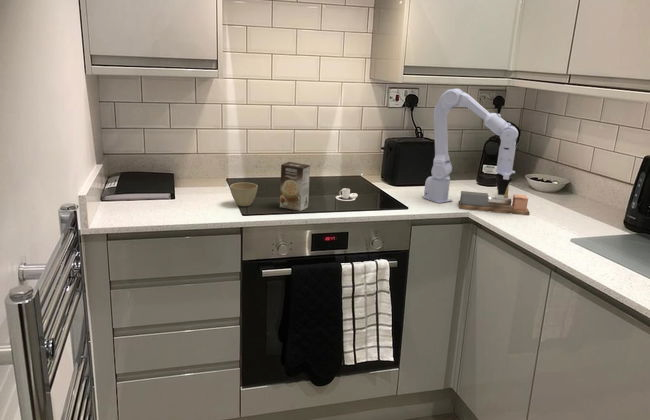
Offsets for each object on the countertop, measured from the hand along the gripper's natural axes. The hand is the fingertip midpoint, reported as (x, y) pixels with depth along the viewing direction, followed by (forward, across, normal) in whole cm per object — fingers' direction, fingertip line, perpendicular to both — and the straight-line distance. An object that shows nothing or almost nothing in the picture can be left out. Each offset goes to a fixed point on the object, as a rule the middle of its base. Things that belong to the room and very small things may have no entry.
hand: (500, 193), depth 204 cm
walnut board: (+6, 0, +2) cm, 7 cm away
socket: (+5, 0, -7) cm, 9 cm away
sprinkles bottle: (+6, +22, -4) cm, 23 cm away
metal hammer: (+4, 0, +3) cm, 5 cm away
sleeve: (+5, 0, +10) cm, 11 cm away
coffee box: (+6, -23, +76) cm, 79 cm away
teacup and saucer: (+7, -5, +56) cm, 57 cm away
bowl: (+6, -26, +94) cm, 98 cm away
